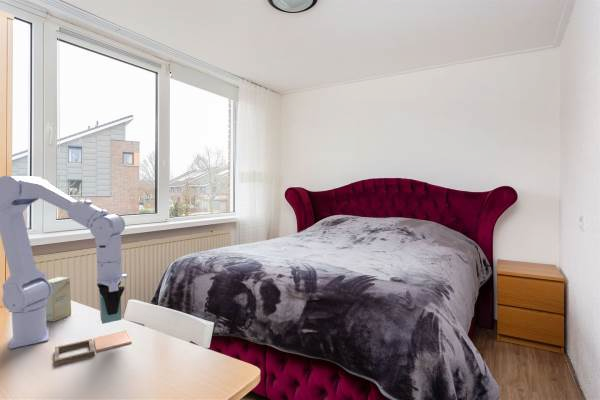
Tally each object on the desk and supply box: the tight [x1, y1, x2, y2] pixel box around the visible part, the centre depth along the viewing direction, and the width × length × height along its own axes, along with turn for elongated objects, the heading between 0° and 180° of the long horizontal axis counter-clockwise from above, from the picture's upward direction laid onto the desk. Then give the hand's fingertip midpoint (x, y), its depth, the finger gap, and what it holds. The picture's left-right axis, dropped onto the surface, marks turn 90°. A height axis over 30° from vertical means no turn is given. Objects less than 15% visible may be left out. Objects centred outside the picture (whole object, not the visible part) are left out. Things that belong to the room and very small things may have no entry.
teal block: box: [98, 291, 122, 324], centre depth 91 cm, size 4×4×7 cm
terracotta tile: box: [93, 330, 132, 353], centre depth 92 cm, size 8×8×1 cm
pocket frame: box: [54, 338, 96, 367], centre depth 85 cm, size 8×8×1 cm
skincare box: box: [45, 276, 72, 322], centre depth 108 cm, size 6×4×12 cm
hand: (111, 311), depth 91 cm, fingers closed on teal block, 4 cm apart
